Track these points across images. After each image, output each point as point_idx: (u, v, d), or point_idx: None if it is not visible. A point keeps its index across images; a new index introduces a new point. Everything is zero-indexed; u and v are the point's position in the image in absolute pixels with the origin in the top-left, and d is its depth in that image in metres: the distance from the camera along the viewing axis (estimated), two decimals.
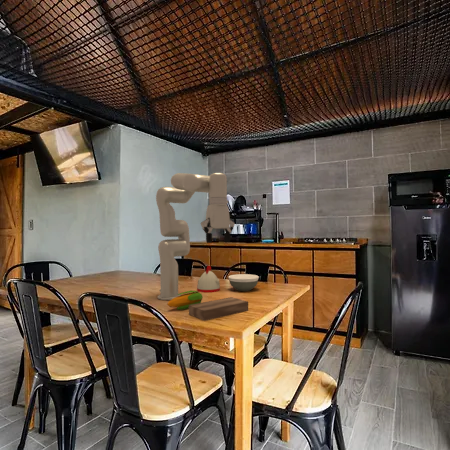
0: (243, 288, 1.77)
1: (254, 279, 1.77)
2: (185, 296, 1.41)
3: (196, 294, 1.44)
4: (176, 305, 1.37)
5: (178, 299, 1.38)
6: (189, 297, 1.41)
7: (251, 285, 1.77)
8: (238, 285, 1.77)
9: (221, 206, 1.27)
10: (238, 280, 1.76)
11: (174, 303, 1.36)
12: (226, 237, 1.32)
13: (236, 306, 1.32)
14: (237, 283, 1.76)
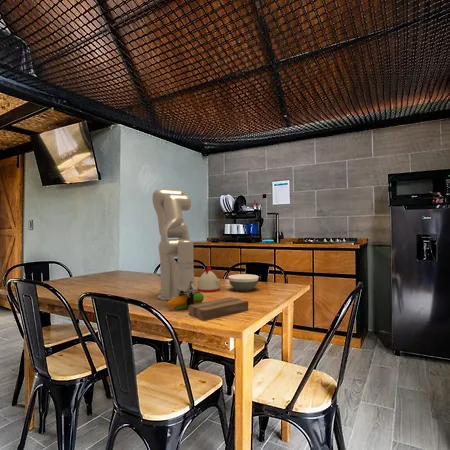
0: (243, 288, 1.77)
1: (254, 279, 1.77)
2: (185, 296, 1.41)
3: (196, 294, 1.43)
4: (175, 305, 1.37)
5: (177, 299, 1.38)
6: None
7: (251, 285, 1.77)
8: (238, 285, 1.77)
9: None
10: (238, 280, 1.76)
11: (173, 303, 1.36)
12: None
13: (236, 306, 1.32)
14: (237, 283, 1.76)
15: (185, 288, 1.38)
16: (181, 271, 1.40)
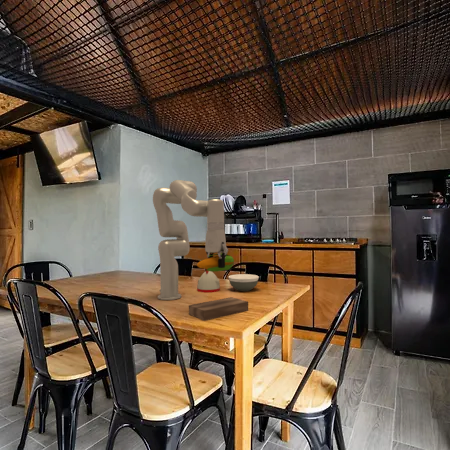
0: (243, 288, 1.77)
1: (254, 279, 1.77)
2: (215, 258, 1.33)
3: (227, 257, 1.35)
4: (206, 266, 1.29)
5: (208, 260, 1.30)
6: None
7: (251, 285, 1.77)
8: (238, 285, 1.77)
9: None
10: (238, 280, 1.76)
11: (204, 264, 1.29)
12: None
13: (236, 306, 1.32)
14: (237, 283, 1.76)
15: (216, 249, 1.30)
16: (211, 232, 1.32)
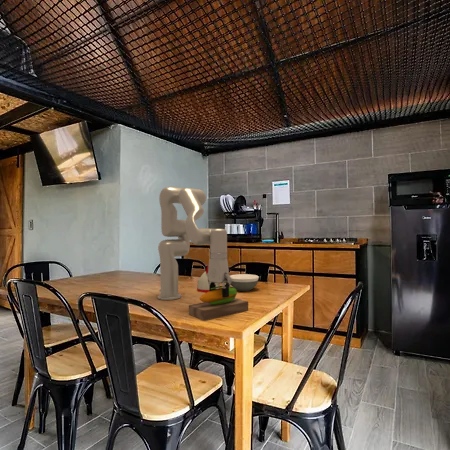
0: (243, 288, 1.77)
1: (254, 279, 1.77)
2: (218, 291, 1.32)
3: (230, 289, 1.34)
4: (209, 300, 1.28)
5: (211, 294, 1.29)
6: None
7: (251, 285, 1.77)
8: (238, 285, 1.77)
9: None
10: (238, 280, 1.76)
11: (207, 298, 1.28)
12: (213, 289, 1.37)
13: (236, 306, 1.32)
14: (237, 283, 1.76)
15: (219, 279, 1.29)
16: (214, 262, 1.32)
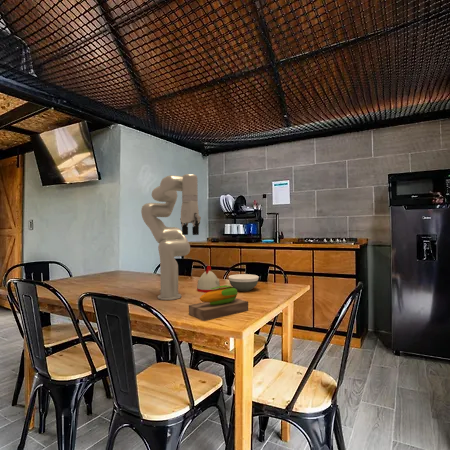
0: (243, 288, 1.77)
1: (254, 279, 1.77)
2: (218, 291, 1.32)
3: (230, 289, 1.34)
4: (209, 300, 1.28)
5: (211, 294, 1.29)
6: (223, 292, 1.31)
7: (251, 285, 1.77)
8: (238, 285, 1.77)
9: None
10: (238, 280, 1.76)
11: (207, 298, 1.28)
12: (185, 230, 1.51)
13: (236, 306, 1.32)
14: (237, 283, 1.76)
15: (189, 219, 1.42)
16: (186, 204, 1.45)
